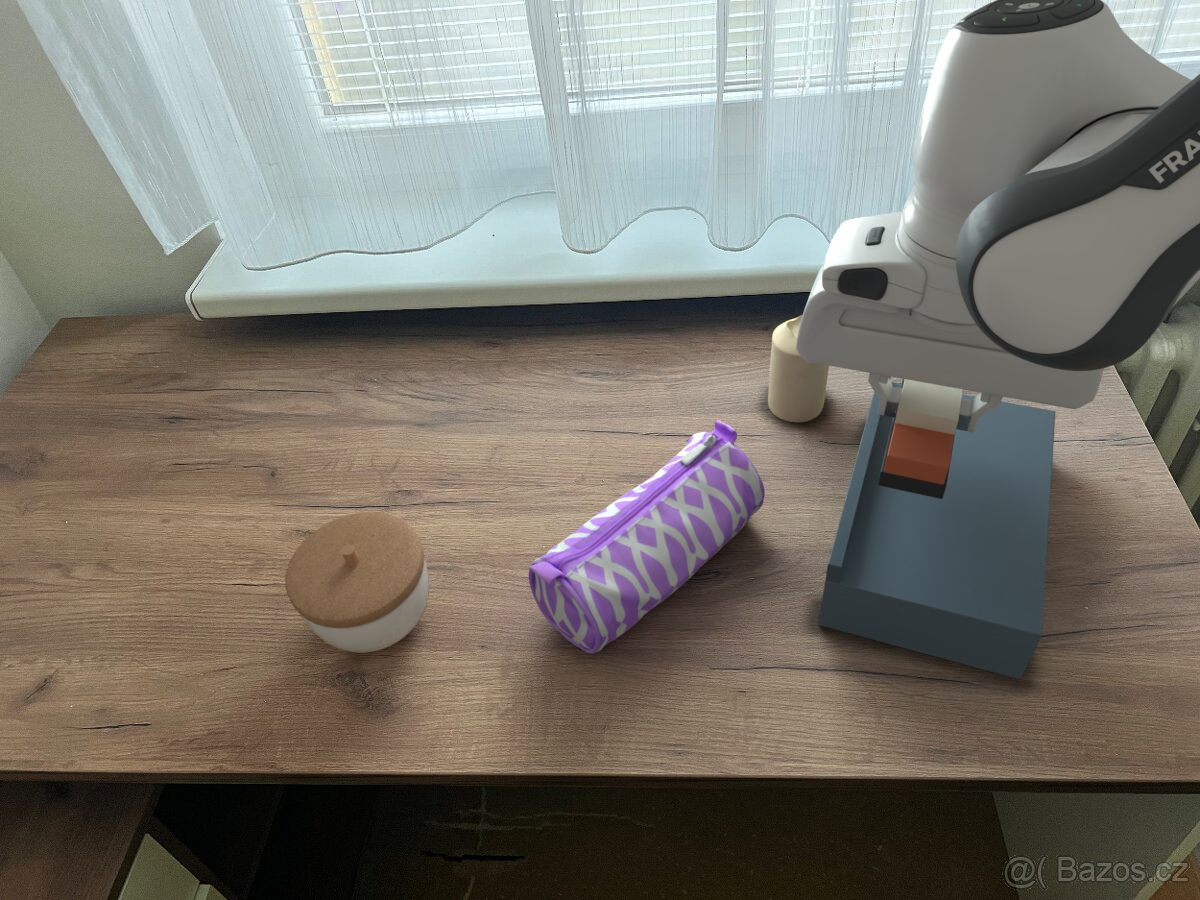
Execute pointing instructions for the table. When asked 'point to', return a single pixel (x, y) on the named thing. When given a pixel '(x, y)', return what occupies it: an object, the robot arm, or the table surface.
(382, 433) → the table surface
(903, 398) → the cream and orange block
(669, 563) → the pencil case
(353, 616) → the trinket box
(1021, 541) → the grey lipped base tray
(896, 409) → the robot arm
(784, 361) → the candle
